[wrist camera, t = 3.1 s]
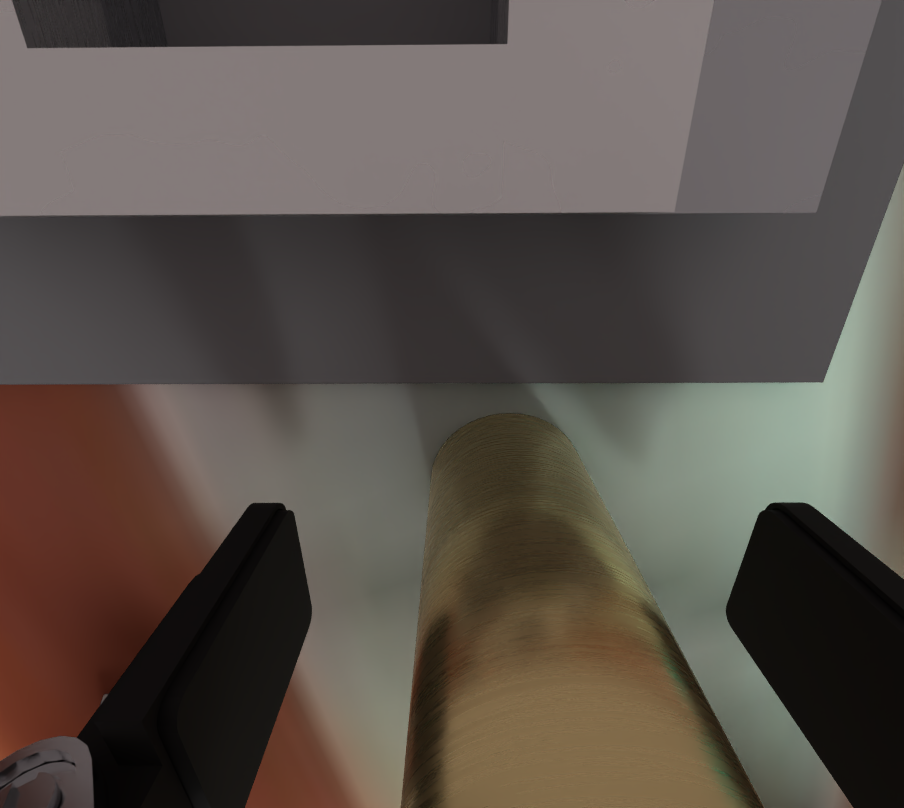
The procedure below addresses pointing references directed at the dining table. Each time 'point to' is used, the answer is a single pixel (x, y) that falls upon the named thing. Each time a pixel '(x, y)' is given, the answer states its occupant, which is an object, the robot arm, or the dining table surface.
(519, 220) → the mat
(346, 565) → the dining table surface
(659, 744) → the brass pin
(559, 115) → the grey block with hole
